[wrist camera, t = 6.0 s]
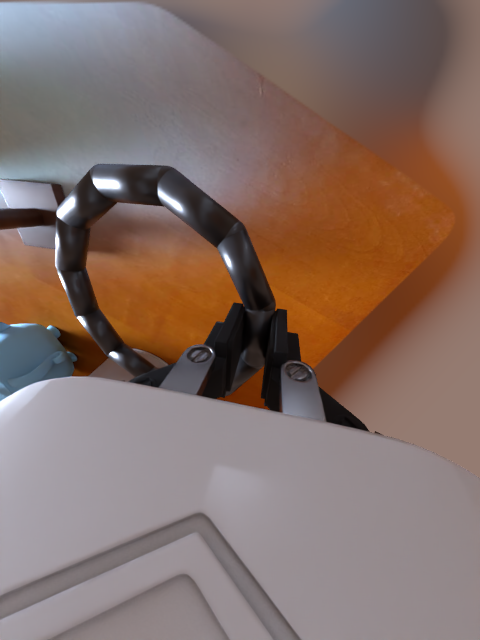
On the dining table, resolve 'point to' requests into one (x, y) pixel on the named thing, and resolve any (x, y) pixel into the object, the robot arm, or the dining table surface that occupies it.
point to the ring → (196, 211)
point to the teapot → (31, 356)
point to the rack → (31, 210)
